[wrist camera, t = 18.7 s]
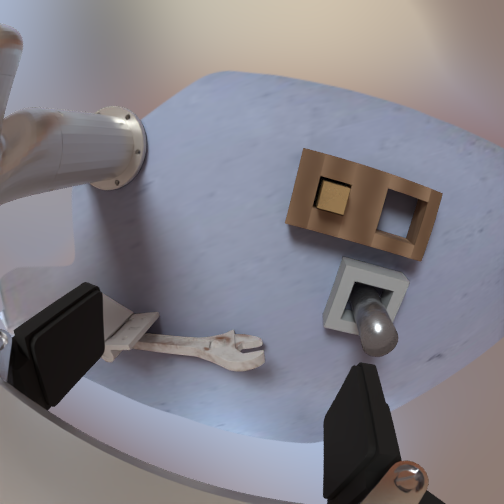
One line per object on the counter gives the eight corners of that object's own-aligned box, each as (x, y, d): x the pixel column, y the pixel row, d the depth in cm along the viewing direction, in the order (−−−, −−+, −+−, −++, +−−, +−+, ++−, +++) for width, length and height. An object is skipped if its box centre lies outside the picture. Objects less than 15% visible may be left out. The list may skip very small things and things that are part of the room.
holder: (322, 314, 42) (323, 327, 38) (342, 256, 39) (346, 265, 36) (379, 327, 41) (383, 340, 38) (401, 272, 38) (409, 282, 35)
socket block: (286, 217, 39) (284, 223, 35) (303, 149, 36) (303, 148, 32) (412, 253, 37) (421, 261, 34) (431, 190, 34) (442, 193, 31)
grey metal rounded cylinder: (344, 303, 41) (356, 353, 29) (353, 277, 39) (370, 321, 28) (370, 309, 40) (388, 359, 29) (379, 284, 39) (404, 329, 28)
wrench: (116, 320, 52) (272, 329, 43) (119, 329, 53) (274, 339, 44) (89, 341, 45) (258, 362, 36) (93, 350, 45) (260, 373, 36)
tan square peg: (315, 201, 37) (317, 207, 32) (321, 178, 36) (324, 181, 31) (338, 207, 37) (343, 214, 32) (344, 185, 36) (350, 188, 31)
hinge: (160, 311, 46) (130, 346, 37) (158, 338, 48) (131, 374, 38) (91, 286, 47) (55, 312, 38) (92, 312, 49) (59, 339, 40)
